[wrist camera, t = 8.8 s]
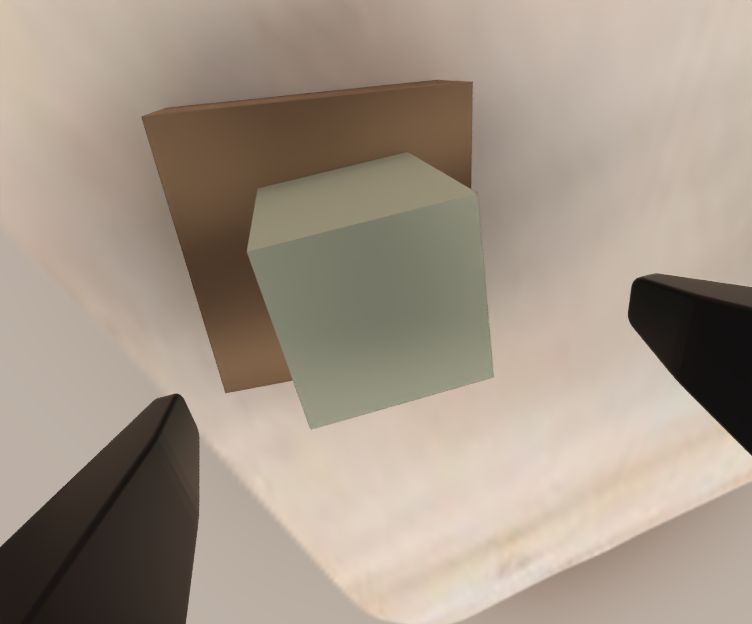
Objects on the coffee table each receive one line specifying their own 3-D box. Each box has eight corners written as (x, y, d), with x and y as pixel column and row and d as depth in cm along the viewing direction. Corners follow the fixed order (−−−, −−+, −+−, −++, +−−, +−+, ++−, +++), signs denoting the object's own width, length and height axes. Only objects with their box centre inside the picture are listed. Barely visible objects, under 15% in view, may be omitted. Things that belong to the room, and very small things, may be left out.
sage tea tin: (428, 286, 17) (493, 377, 12) (300, 320, 17) (310, 429, 12) (407, 151, 15) (477, 193, 10) (257, 188, 15) (246, 251, 9)
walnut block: (438, 305, 23) (468, 346, 19) (232, 341, 21) (225, 393, 18) (433, 80, 18) (472, 81, 14) (167, 107, 17) (141, 116, 13)
